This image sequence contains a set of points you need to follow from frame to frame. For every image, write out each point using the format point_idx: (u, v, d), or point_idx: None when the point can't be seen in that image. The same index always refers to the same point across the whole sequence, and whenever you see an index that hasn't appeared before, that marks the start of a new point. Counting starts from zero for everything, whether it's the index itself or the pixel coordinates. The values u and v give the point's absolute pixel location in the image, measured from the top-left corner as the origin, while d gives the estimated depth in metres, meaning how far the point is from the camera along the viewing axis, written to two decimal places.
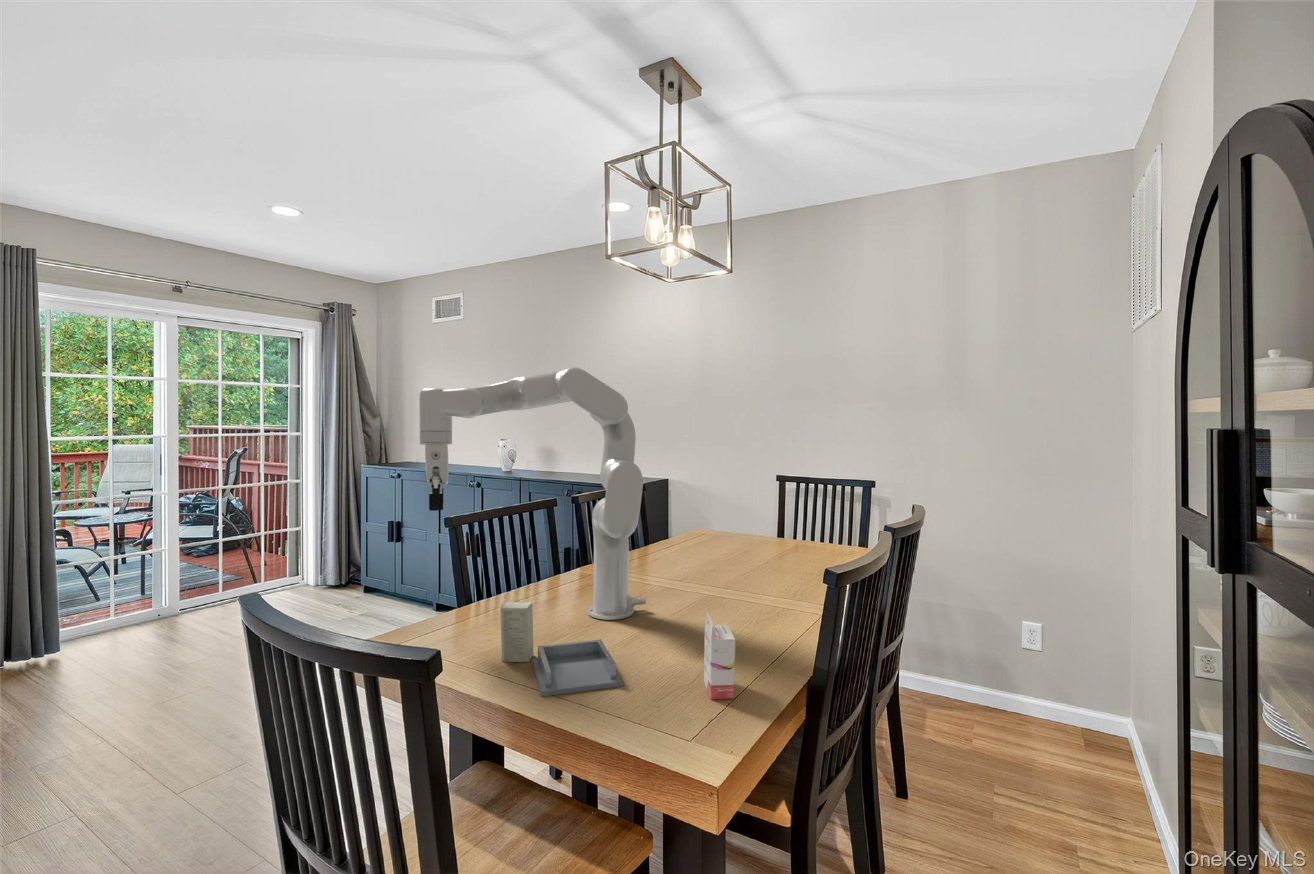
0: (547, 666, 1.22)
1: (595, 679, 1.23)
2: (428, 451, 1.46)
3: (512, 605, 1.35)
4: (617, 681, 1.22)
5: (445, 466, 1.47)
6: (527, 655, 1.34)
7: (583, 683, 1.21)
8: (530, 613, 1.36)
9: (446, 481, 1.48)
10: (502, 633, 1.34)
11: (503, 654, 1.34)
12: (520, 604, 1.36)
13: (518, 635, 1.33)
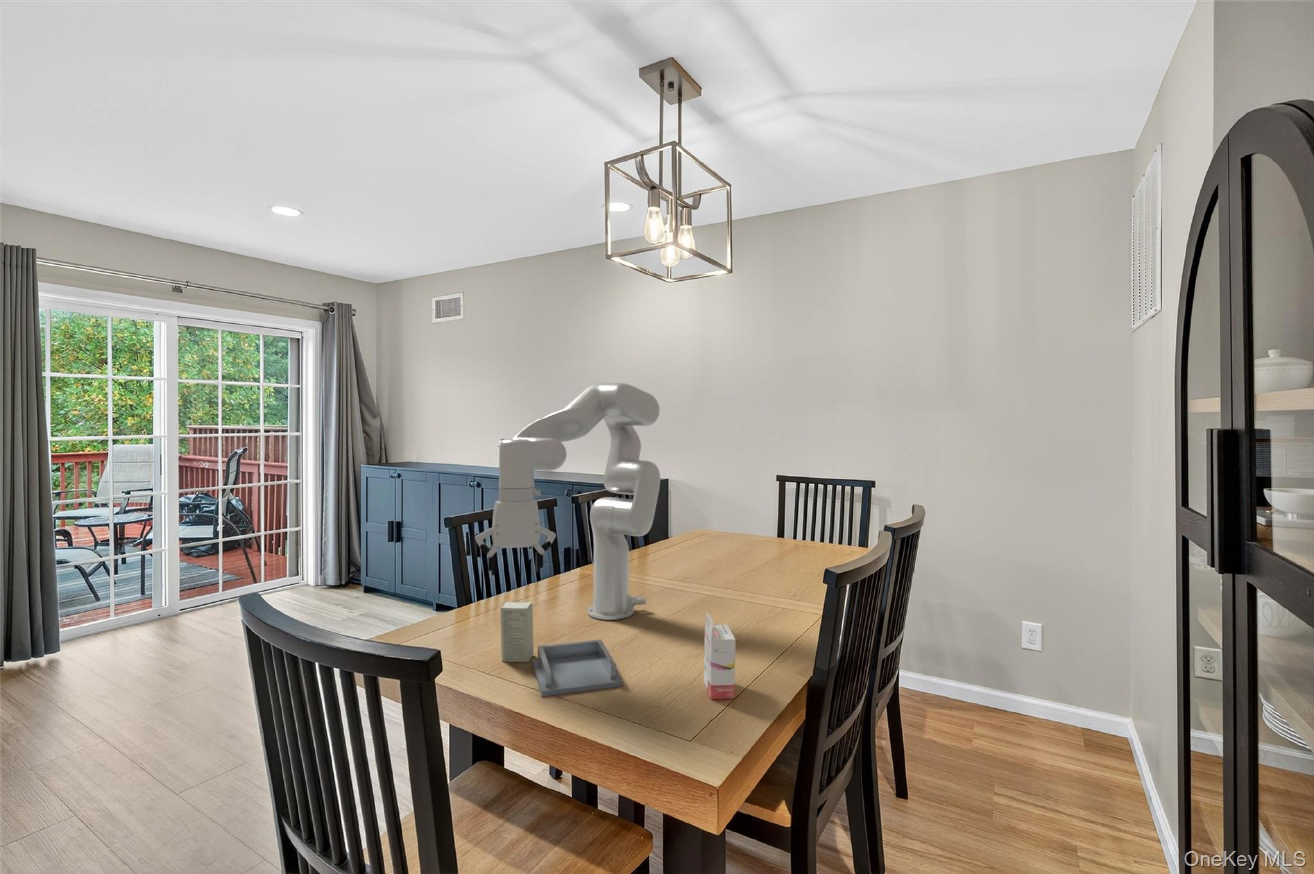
0: (547, 666, 1.22)
1: (595, 679, 1.23)
2: (537, 509, 1.34)
3: (511, 605, 1.35)
4: (617, 681, 1.22)
5: None
6: (527, 655, 1.34)
7: (583, 683, 1.21)
8: (530, 613, 1.36)
9: None
10: (502, 633, 1.34)
11: (503, 654, 1.34)
12: (520, 604, 1.36)
13: (518, 635, 1.33)
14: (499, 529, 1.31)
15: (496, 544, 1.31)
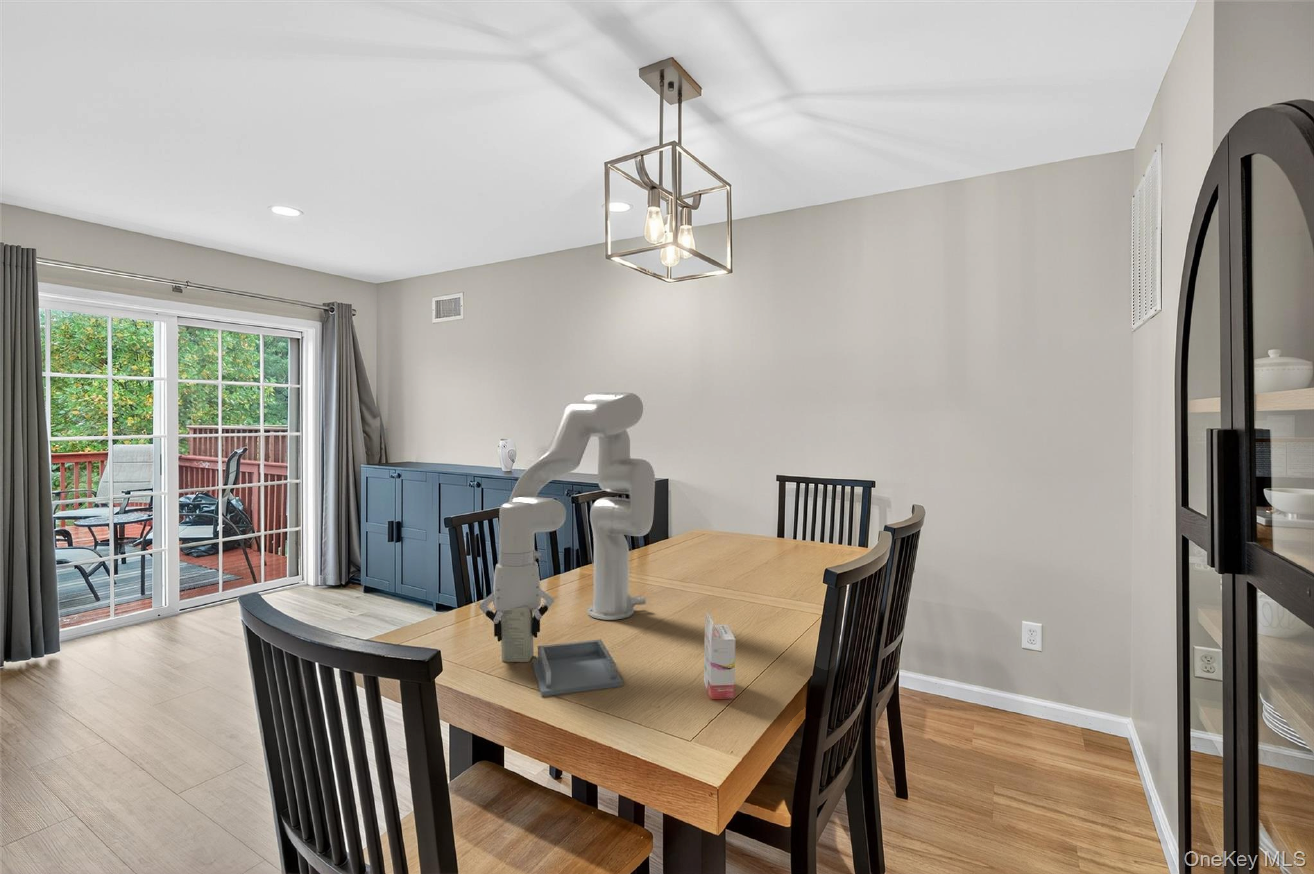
0: (547, 666, 1.22)
1: (595, 679, 1.23)
2: (537, 572, 1.35)
3: None
4: (617, 681, 1.22)
5: None
6: (527, 655, 1.34)
7: (583, 683, 1.21)
8: (530, 613, 1.36)
9: None
10: (502, 633, 1.34)
11: (503, 654, 1.34)
12: None
13: (518, 635, 1.33)
14: (500, 594, 1.32)
15: (497, 608, 1.32)
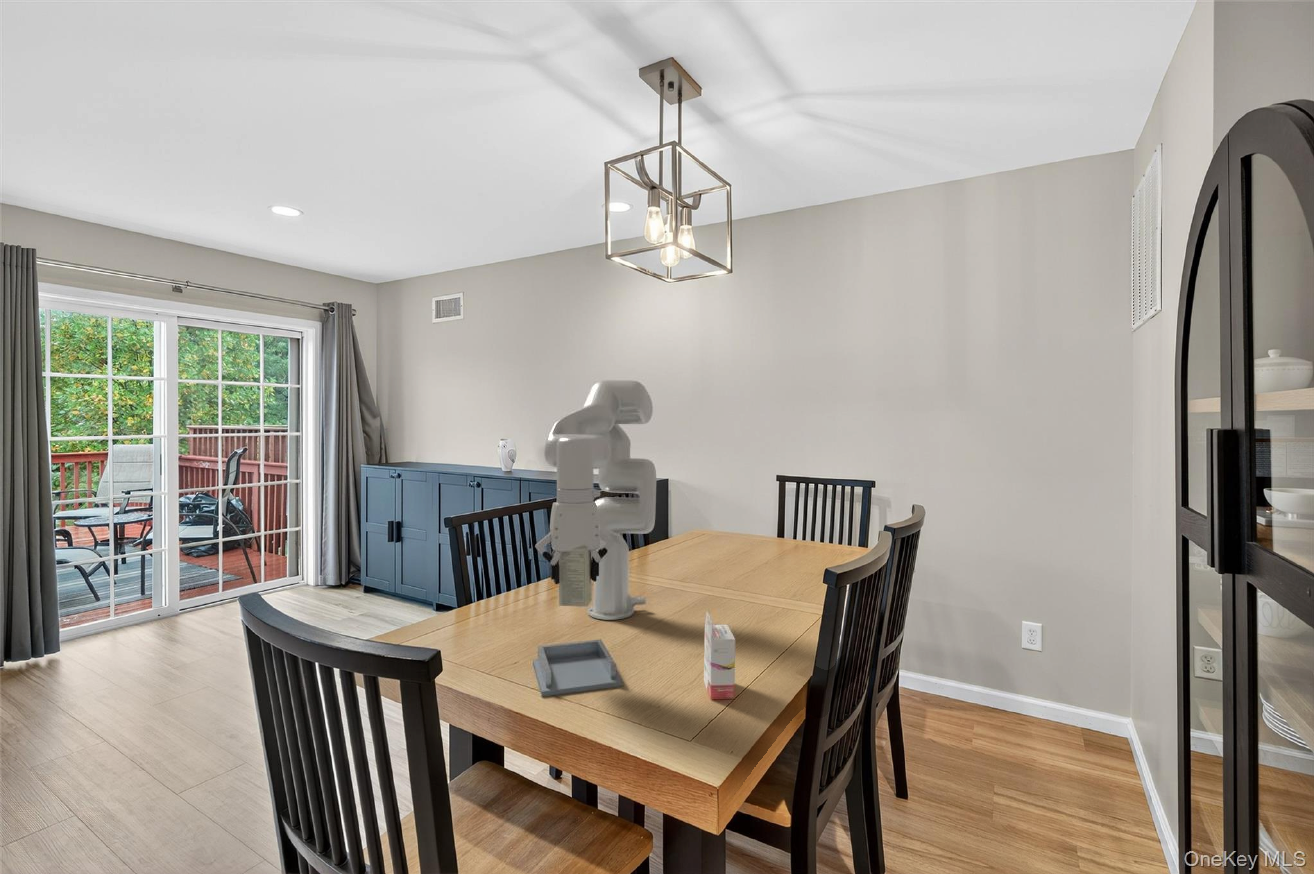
0: (547, 666, 1.22)
1: (595, 679, 1.23)
2: (597, 511, 1.26)
3: None
4: (617, 681, 1.22)
5: None
6: (586, 599, 1.25)
7: (583, 683, 1.21)
8: (589, 555, 1.27)
9: None
10: (560, 576, 1.25)
11: (561, 598, 1.25)
12: None
13: (577, 577, 1.25)
14: (558, 533, 1.23)
15: (555, 548, 1.24)
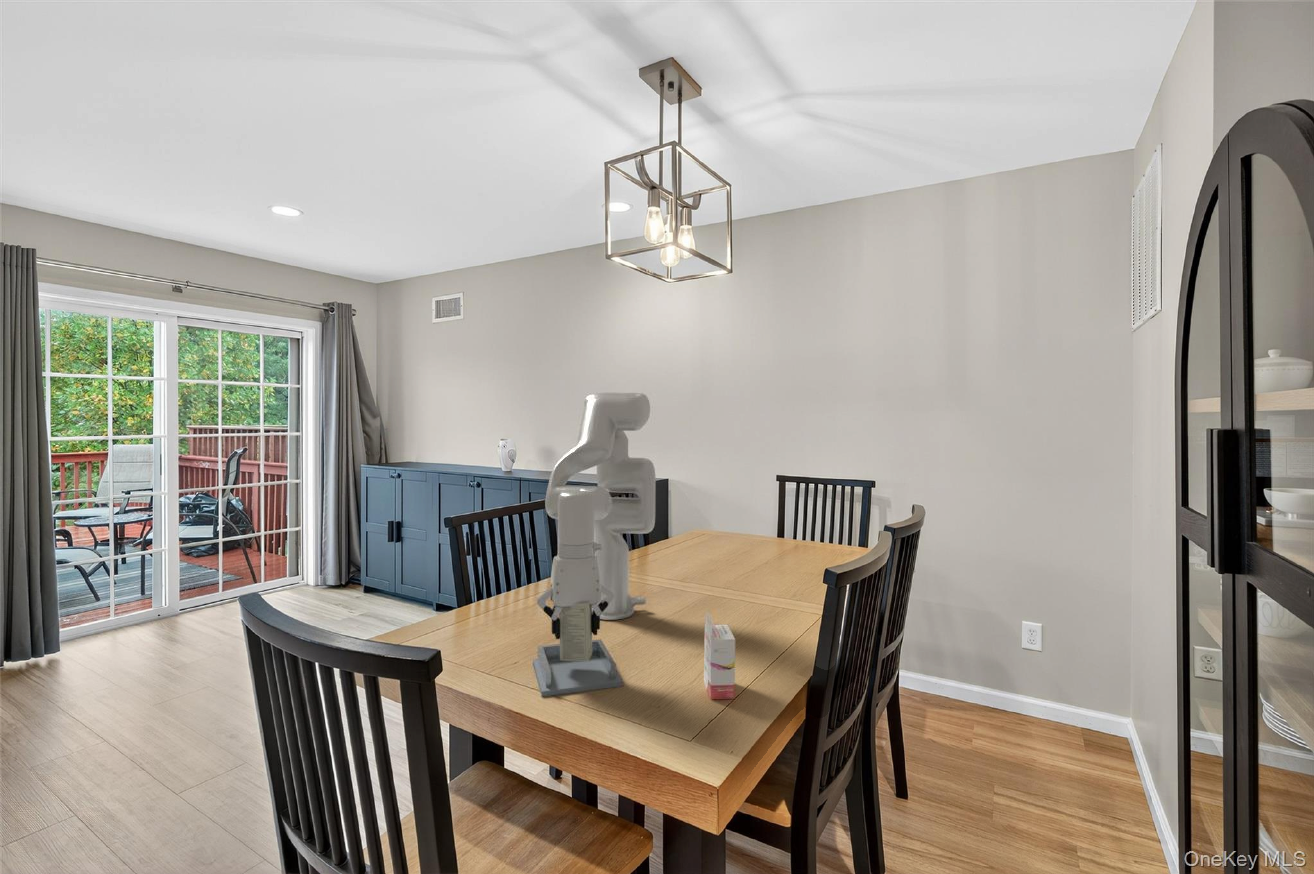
0: (547, 666, 1.22)
1: (595, 679, 1.23)
2: (598, 565, 1.26)
3: None
4: (617, 681, 1.22)
5: None
6: (587, 654, 1.25)
7: (583, 683, 1.21)
8: (590, 609, 1.27)
9: None
10: (561, 630, 1.25)
11: (561, 653, 1.26)
12: None
13: (578, 632, 1.25)
14: (559, 588, 1.24)
15: (556, 604, 1.24)
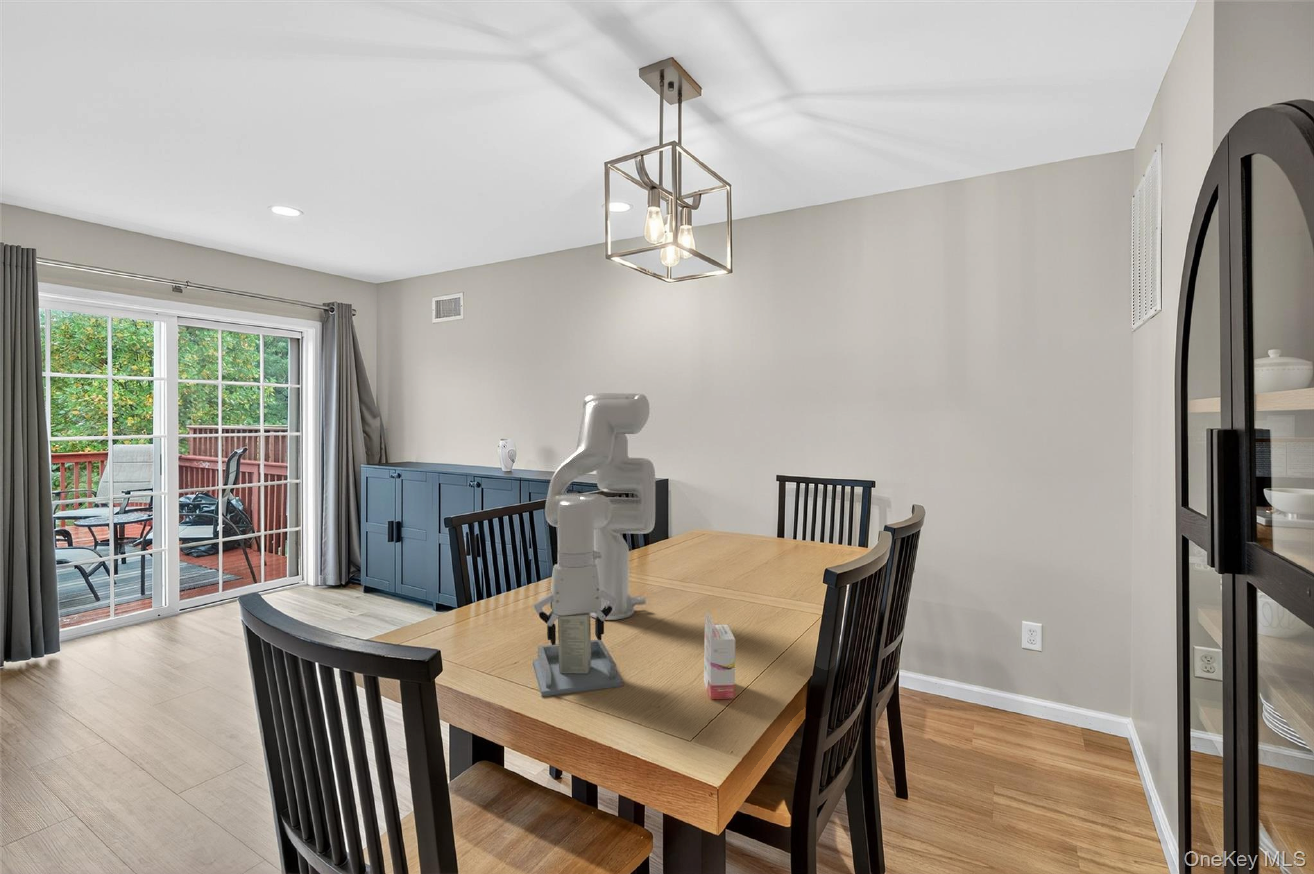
0: (547, 666, 1.22)
1: (595, 679, 1.23)
2: (598, 573, 1.26)
3: None
4: (617, 681, 1.22)
5: None
6: (586, 666, 1.26)
7: (583, 683, 1.21)
8: (589, 621, 1.27)
9: None
10: (560, 643, 1.26)
11: (561, 665, 1.26)
12: None
13: (577, 645, 1.25)
14: (559, 597, 1.24)
15: (556, 612, 1.24)
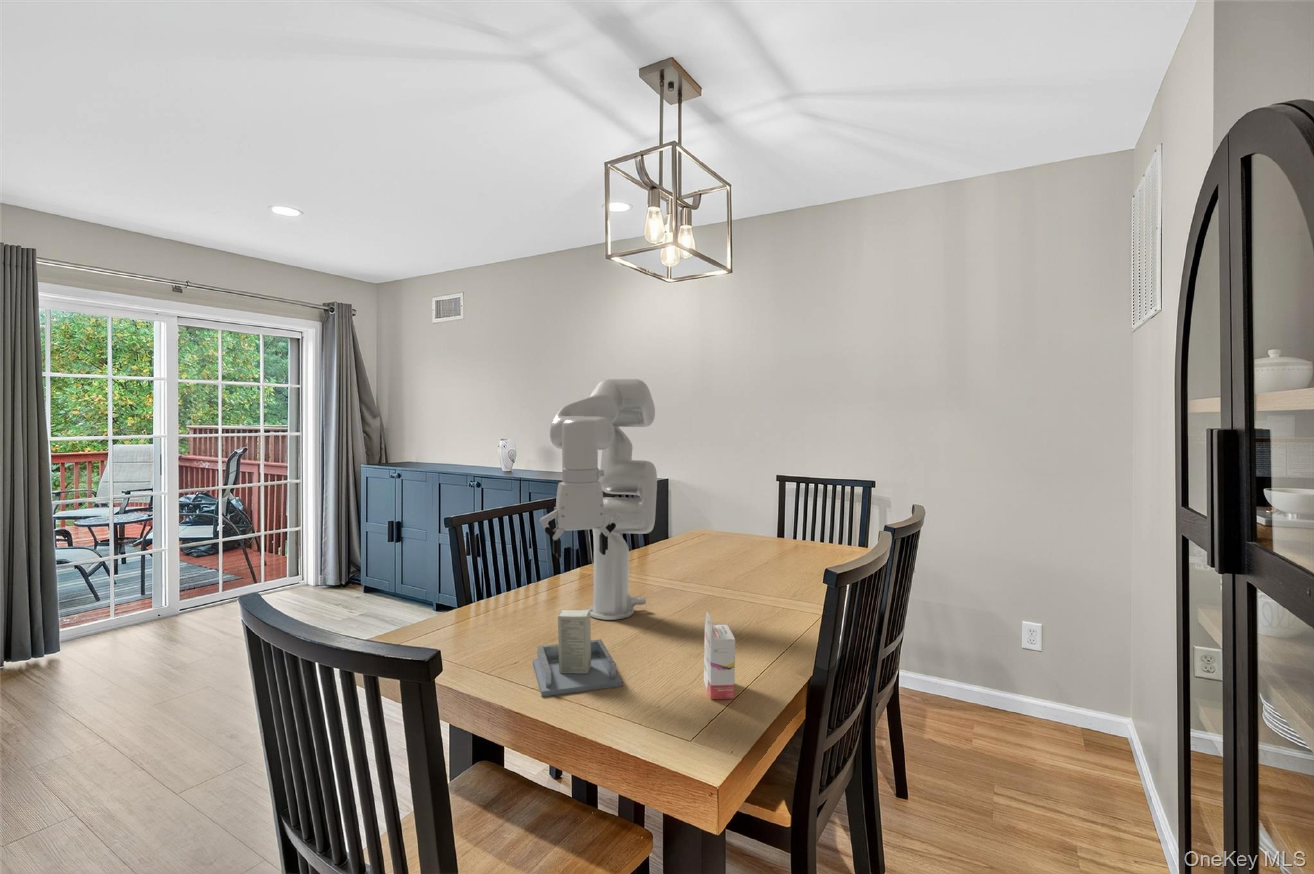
0: (547, 666, 1.22)
1: (595, 679, 1.23)
2: (601, 490, 1.30)
3: (569, 613, 1.27)
4: (617, 681, 1.22)
5: None
6: (586, 666, 1.26)
7: (583, 683, 1.21)
8: (589, 621, 1.27)
9: None
10: (560, 643, 1.26)
11: (561, 665, 1.26)
12: (577, 611, 1.28)
13: (577, 645, 1.25)
14: (564, 512, 1.28)
15: (562, 527, 1.28)
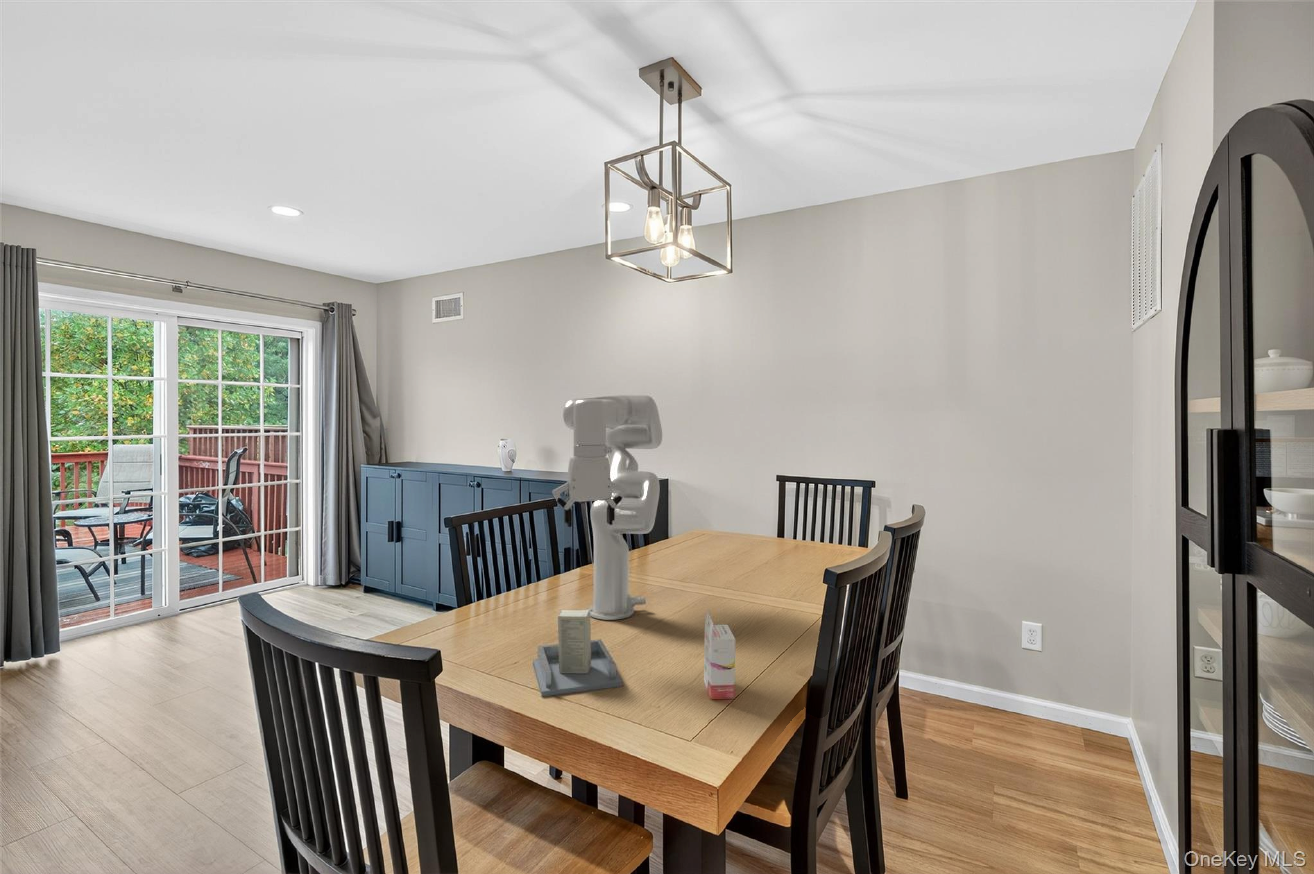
0: (547, 666, 1.22)
1: (595, 679, 1.23)
2: (609, 465, 1.43)
3: (569, 613, 1.27)
4: (617, 681, 1.22)
5: None
6: (586, 666, 1.26)
7: (583, 683, 1.21)
8: (589, 621, 1.27)
9: None
10: (560, 643, 1.26)
11: (561, 665, 1.26)
12: (577, 611, 1.28)
13: (577, 645, 1.25)
14: (575, 484, 1.40)
15: (572, 497, 1.40)
